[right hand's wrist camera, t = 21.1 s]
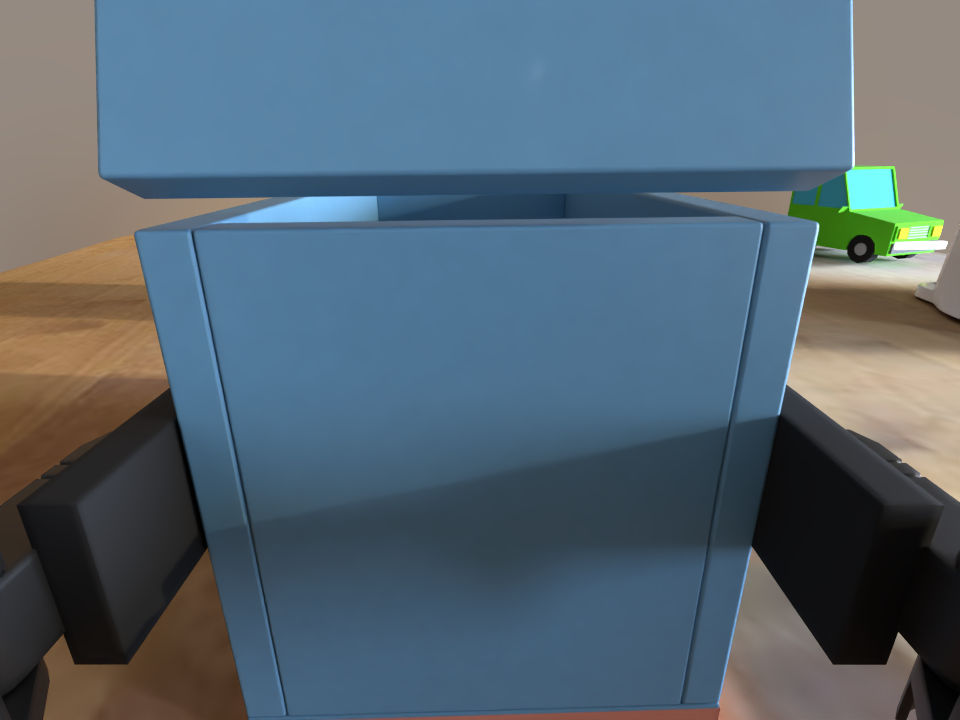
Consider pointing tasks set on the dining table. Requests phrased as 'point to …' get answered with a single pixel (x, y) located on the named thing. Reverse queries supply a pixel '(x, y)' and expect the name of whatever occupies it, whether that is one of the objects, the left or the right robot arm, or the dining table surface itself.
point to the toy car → (864, 215)
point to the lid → (472, 96)
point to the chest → (479, 443)
